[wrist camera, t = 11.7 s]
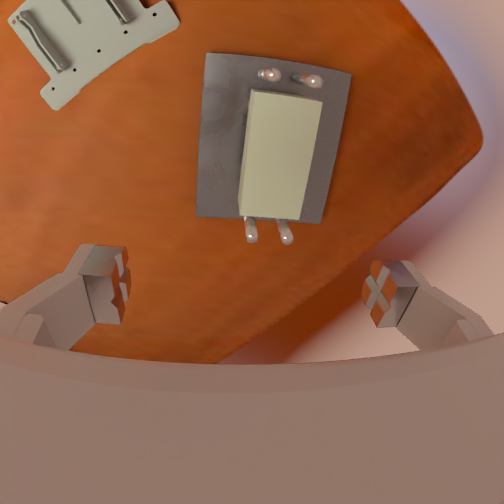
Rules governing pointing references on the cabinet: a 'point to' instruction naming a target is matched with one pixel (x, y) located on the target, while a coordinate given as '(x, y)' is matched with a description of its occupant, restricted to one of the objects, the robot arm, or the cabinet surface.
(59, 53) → the metal bracket
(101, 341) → the cabinet surface
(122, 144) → the cabinet surface
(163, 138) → the cabinet surface
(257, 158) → the board
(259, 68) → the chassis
